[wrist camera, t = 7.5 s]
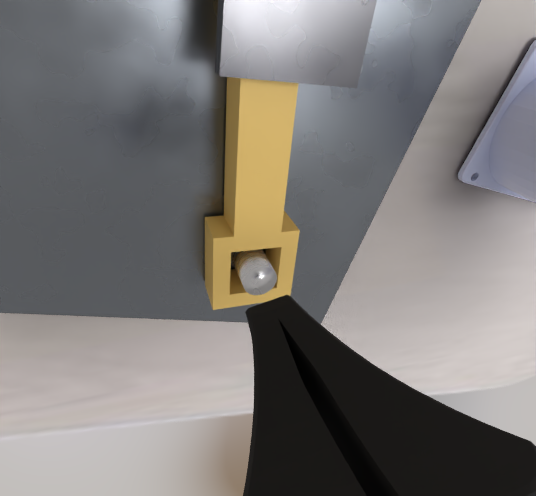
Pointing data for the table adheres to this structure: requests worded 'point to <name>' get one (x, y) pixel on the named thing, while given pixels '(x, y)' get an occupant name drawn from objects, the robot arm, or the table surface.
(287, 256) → the lever
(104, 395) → the table surface
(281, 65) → the keeper
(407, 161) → the table surface
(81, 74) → the base
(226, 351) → the table surface
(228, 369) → the table surface
